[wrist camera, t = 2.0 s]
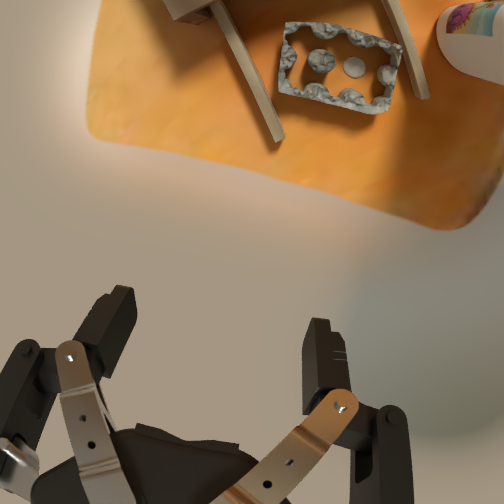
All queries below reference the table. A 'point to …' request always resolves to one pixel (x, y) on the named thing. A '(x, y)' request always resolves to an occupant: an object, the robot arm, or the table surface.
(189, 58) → the table surface
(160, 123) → the table surface
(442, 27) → the milk bottle
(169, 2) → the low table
